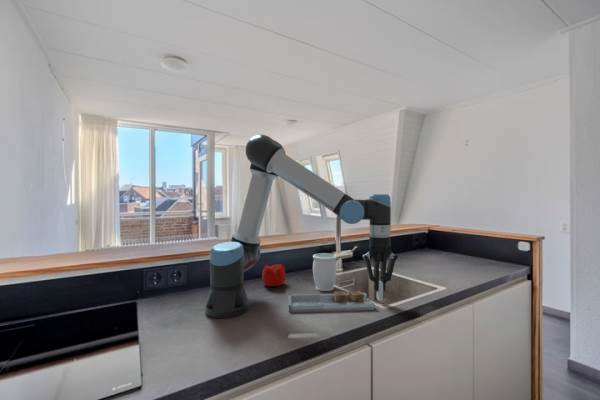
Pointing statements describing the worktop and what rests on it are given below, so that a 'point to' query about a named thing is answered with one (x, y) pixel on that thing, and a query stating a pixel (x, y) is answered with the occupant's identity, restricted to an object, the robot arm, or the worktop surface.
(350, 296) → the brown wooden cube
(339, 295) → the chip
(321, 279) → the jar
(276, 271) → the tomato
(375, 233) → the robot arm
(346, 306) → the slot rail
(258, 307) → the worktop surface
